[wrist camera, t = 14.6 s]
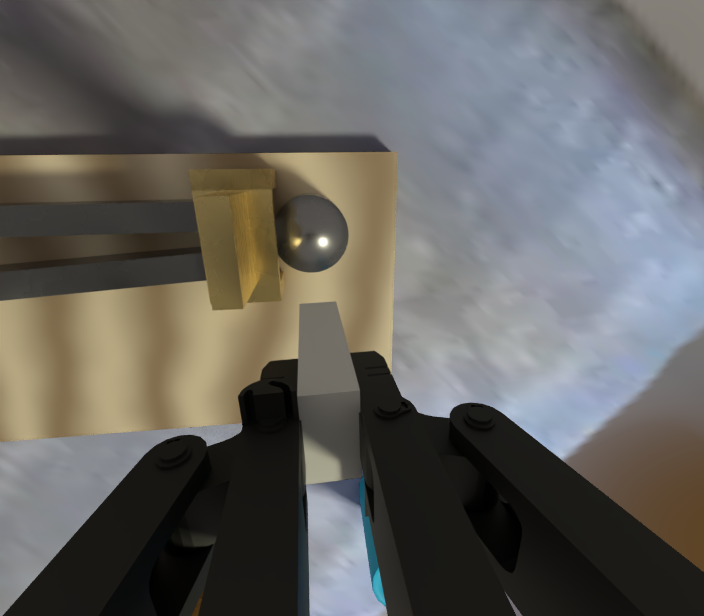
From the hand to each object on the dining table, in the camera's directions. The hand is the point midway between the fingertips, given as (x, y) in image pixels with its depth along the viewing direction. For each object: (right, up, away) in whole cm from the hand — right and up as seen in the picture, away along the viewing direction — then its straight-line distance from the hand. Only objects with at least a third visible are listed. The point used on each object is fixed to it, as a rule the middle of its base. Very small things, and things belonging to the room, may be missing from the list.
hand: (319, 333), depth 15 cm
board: (-12, +1, +10) cm, 16 cm away
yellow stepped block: (-5, +6, +7) cm, 11 cm away
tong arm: (-16, +3, +7) cm, 17 cm away
